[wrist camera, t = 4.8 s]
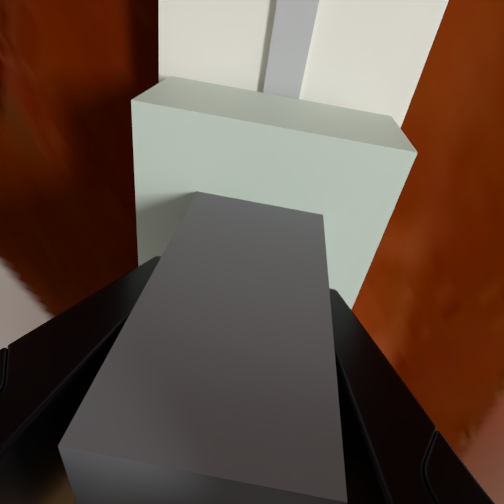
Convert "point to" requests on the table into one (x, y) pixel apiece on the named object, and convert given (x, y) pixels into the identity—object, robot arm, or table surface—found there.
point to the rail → (303, 48)
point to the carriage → (236, 299)
